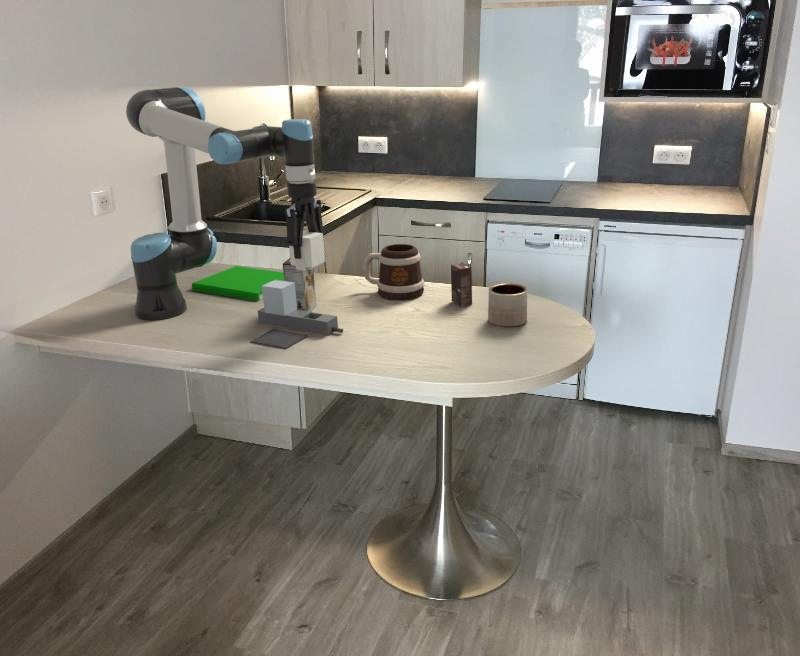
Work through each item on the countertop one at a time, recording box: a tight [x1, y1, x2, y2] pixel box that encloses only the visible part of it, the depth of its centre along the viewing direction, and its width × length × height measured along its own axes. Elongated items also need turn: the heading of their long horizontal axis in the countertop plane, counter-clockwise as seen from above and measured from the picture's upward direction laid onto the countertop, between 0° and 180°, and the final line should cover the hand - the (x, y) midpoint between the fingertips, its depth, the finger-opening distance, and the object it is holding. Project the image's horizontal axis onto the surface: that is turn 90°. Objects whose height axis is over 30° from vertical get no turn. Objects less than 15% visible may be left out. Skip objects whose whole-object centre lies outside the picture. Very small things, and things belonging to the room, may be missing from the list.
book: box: [191, 265, 284, 302], centre depth 243 cm, size 22×28×3 cm
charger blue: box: [262, 280, 297, 316], centre depth 205 cm, size 7×6×9 cm
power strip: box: [257, 307, 344, 336], centre depth 204 cm, size 27×5×4 cm, turn 62°
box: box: [450, 261, 473, 308], centre depth 216 cm, size 6×4×12 cm
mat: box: [249, 328, 309, 350], centre depth 196 cm, size 12×10×1 cm
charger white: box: [288, 230, 326, 270], centre depth 194 cm, size 7×6×9 cm
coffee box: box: [282, 257, 317, 312], centre depth 215 cm, size 9×6×16 cm
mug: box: [362, 243, 425, 301], centre depth 228 cm, size 20×15×15 cm
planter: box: [487, 282, 528, 328], centre depth 202 cm, size 11×11×10 cm
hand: (308, 266), depth 196 cm, fingers closed on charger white, 6 cm apart
